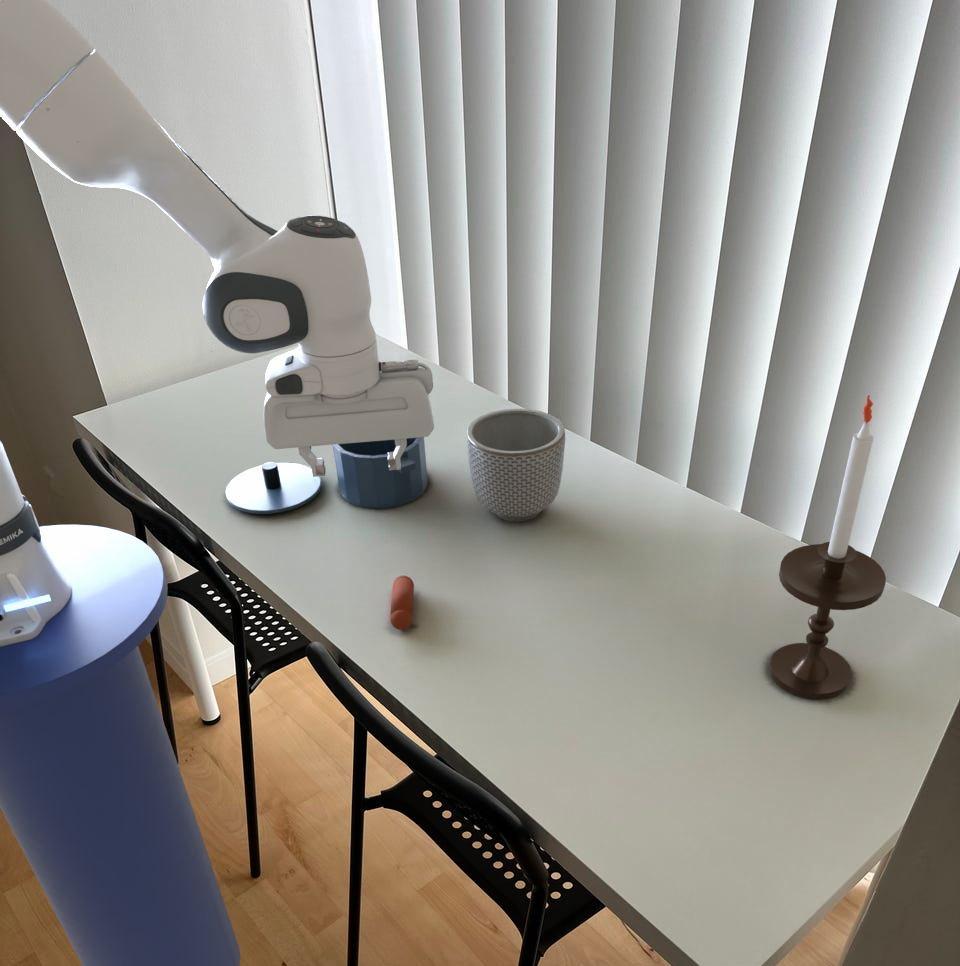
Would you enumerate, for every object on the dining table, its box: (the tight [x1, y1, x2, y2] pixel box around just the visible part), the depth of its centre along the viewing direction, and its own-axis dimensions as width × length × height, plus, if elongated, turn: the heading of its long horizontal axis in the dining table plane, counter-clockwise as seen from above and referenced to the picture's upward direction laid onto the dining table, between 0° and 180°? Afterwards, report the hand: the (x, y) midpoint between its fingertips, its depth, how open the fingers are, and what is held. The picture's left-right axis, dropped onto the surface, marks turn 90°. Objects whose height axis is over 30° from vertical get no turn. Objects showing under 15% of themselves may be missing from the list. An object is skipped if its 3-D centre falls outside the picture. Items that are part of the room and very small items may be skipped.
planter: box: [465, 408, 566, 523], centre depth 141 cm, size 14×14×13 cm
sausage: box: [389, 575, 415, 631], centre depth 126 cm, size 10×3×3 cm, turn 2°
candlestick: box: [768, 394, 887, 701], centre depth 103 cm, size 11×11×35 cm
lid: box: [225, 461, 322, 515], centre depth 150 cm, size 15×15×5 cm
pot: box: [332, 437, 429, 509], centre depth 149 cm, size 14×19×8 cm
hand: (357, 471), depth 122 cm, fingers open, 8 cm apart
